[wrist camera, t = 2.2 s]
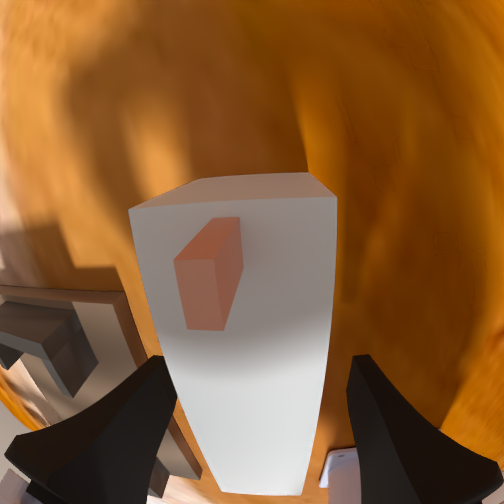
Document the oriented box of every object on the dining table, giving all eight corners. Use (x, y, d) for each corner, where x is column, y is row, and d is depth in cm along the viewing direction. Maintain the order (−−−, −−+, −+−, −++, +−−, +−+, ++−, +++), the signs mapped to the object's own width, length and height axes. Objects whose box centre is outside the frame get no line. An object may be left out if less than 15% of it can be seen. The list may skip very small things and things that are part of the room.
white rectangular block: (200, 177, 10) (61, 242, 3) (309, 171, 10) (375, 228, 3) (235, 417, 15) (215, 522, 8) (301, 418, 15) (300, 526, 8)
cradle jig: (-2, 285, 14) (-37, 311, 10) (124, 291, 12) (76, 343, 8) (90, 440, 21) (75, 467, 17) (202, 470, 19) (193, 506, 15)
